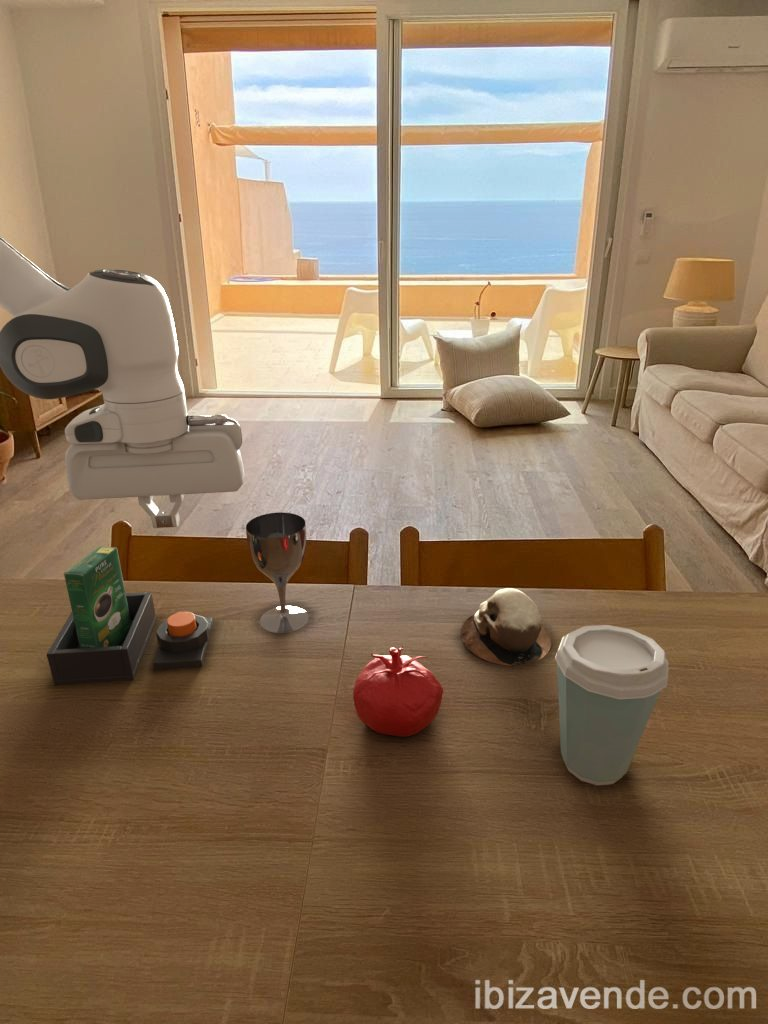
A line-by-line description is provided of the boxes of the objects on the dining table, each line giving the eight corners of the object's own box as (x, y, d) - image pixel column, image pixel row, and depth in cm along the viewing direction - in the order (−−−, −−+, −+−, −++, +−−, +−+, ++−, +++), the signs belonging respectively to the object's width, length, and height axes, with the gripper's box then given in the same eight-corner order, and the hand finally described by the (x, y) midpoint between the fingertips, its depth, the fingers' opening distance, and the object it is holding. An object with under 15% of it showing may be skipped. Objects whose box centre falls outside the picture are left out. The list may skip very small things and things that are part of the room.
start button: (166, 638, 90) (164, 627, 90) (171, 623, 94) (169, 612, 93) (194, 636, 91) (192, 625, 90) (198, 621, 94) (196, 610, 93)
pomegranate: (413, 762, 73) (414, 691, 70) (337, 727, 78) (333, 660, 75) (457, 708, 81) (459, 642, 77) (384, 680, 86) (383, 616, 82)
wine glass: (244, 620, 99) (233, 525, 92) (289, 598, 104) (281, 507, 98) (279, 642, 94) (269, 543, 87) (323, 619, 99) (318, 524, 92)
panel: (152, 670, 88) (148, 651, 87) (168, 626, 98) (165, 608, 96) (204, 667, 89) (201, 648, 88) (215, 624, 98) (212, 605, 97)
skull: (437, 622, 95) (481, 562, 95) (483, 650, 101) (525, 593, 101) (485, 668, 85) (534, 601, 85) (533, 696, 91) (580, 633, 91)
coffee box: (116, 627, 96) (98, 543, 91) (135, 630, 96) (118, 545, 90) (81, 662, 89) (60, 573, 83) (101, 665, 88) (81, 575, 83)
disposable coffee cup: (525, 742, 76) (535, 627, 70) (606, 717, 79) (623, 605, 73) (583, 816, 67) (601, 690, 60) (673, 784, 70) (698, 662, 64)
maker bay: (54, 686, 86) (46, 654, 84) (87, 624, 98) (81, 595, 96) (133, 680, 87) (127, 649, 85) (156, 620, 99) (151, 591, 97)
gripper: (242, 406, 84) (253, 510, 89) (68, 414, 82) (91, 519, 88) (236, 421, 78) (249, 532, 84) (49, 430, 77) (75, 542, 82)
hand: (166, 525), depth 86 cm, fingers closed
